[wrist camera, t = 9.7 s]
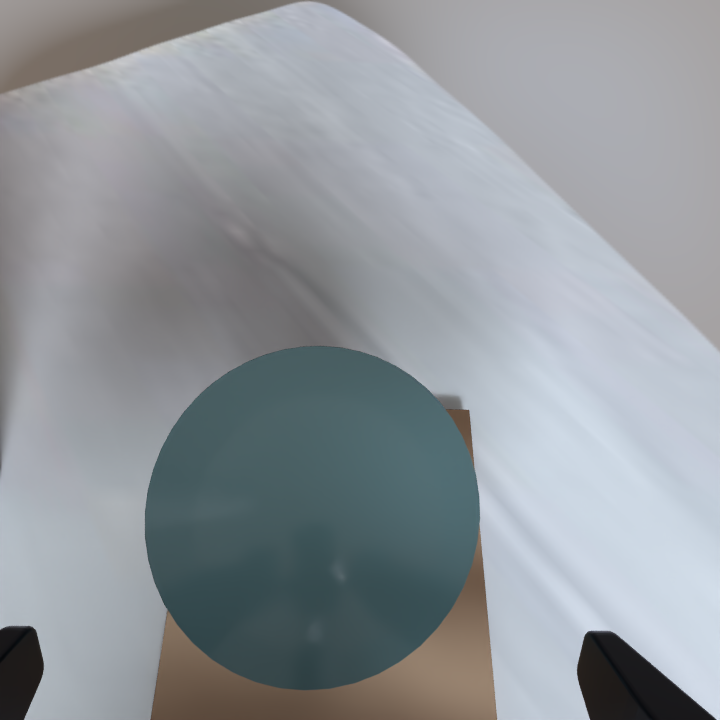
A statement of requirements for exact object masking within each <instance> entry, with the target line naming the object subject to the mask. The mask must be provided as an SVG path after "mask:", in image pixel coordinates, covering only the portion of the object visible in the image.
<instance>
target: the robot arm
mask: <svg viewBox="0 0 720 720" xmlns="http://www.w3.org/2000/svg"><path fill="white" fill-rule="evenodd" d="M43 669H44V662H43V657H42V653H41V649H40V645H39V641H38V636H37V632H36V630H35V629H34V628H33V627H31V626H8V627H5V628H3V629H1V630H0V720H24V718H25V716H26V713H27V711H28V709H29V707H30V704H31V702H32V700H33V697H34V695H35V693H36V690H37V688H38V686H39V683H40V681H41V678H42V675H43ZM577 675H578V681H579V685H580V688H581V691H582V695H583V698H584V701H585V705H586V708H587V711H588V714H589V718H590V720H716V719H715V718H714V717H713V716H712V715H711V714H709V713H708V712H707V711H706V710H705V709H704V708H702V707H701V706H700V705H699V704H698V703H696V702H695V701H694V700H693V699H692V698H691V697H689V696H688V695H687V694H686V693H685V692H684V691H682V690H681V689H680V688H679V687H678V686H677V685H675V684H674V683H673V682H672V681H671V680H669V679H668V678H667V677H666V676H665V675H664V674H662V673H661V672H660V671H659V670H658V669H657V668H655V667H654V666H653V665H652V664H651V663H650V662H648V661H647V660H646V659H645V658H644V657H642V656H641V655H640V654H639V653H638V652H637V651H635V650H634V649H633V648H632V647H631V646H630V645H628V644H627V643H626V642H625V641H624V640H623V639H621V638H620V637H619V636H618V635H616V634H615V633H613V632H611V631H588V632H587V633H586V634H585V637H584V640H583V645H582V649H581V653H580V657H579V662H578V666H577Z"/></svg>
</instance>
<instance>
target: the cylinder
mask: <svg viewBox="0 0 720 720" xmlns="http://www.w3.org/2000/svg"><path fill="white" fill-rule="evenodd" d="M479 522H480V507H479V492H478V485H477V479H476V474H475V470H474V467H473V463H472V459H471V456H470V453H469V451H468V449H467V446H466V444H465V441H464V439H463V437H462V435H461V433H460V431H459V430H458V428H457V426H456V424H455V423H454V421H453V419H452V418H451V416H450V415H449V414H448V412H447V411H446V410H445V408H444V407H443V406H442V404H441V403H440V402H439V401H438V400H437V399H436V398H435V397H434V396H433V394H432V393H431V392H430V391H429V390H428V389H427V388H426V387H424V386H423V385H422V384H421V383H419V382H418V381H417V380H416V379H415V378H413V377H412V376H411V375H409V374H408V373H406V372H404V371H403V370H401V369H400V368H398V367H396V366H395V365H393V364H390V363H388V362H386V361H384V360H382V359H380V358H378V357H375V356H372V355H369V354H366V353H363V352H360V351H355V350H350V349H345V348H339V347H327V346H310V347H298V348H291V349H285V350H281V351H277V352H273V353H270V354H266V355H263V356H261V357H258V358H256V359H253V360H251V361H248V362H246V363H244V364H242V365H241V366H239V367H237V368H235V369H233V370H231V371H230V372H228V373H227V374H225V375H224V376H222V377H221V378H220V379H218V380H217V381H215V382H214V383H213V384H211V385H210V386H209V387H208V388H207V389H206V390H205V391H203V392H202V393H201V394H200V395H199V396H198V397H197V398H196V399H195V400H194V401H193V402H192V404H191V405H190V406H189V407H188V408H187V409H186V410H185V411H184V413H183V414H182V415H181V417H180V418H179V420H178V421H177V423H176V424H175V425H174V427H173V428H172V430H171V432H170V433H169V435H168V437H167V439H166V441H165V443H164V445H163V447H162V448H161V451H160V453H159V456H158V459H157V461H156V464H155V466H154V469H153V472H152V476H151V480H150V484H149V488H148V493H147V501H146V509H145V540H146V547H147V554H148V560H149V564H150V568H151V571H152V575H153V578H154V582H155V584H156V587H157V589H158V591H159V593H160V596H161V598H162V600H163V602H164V605H165V606H166V608H167V609H168V611H169V613H170V614H171V616H172V617H173V619H174V621H175V622H176V624H177V625H178V626H179V628H180V629H181V630H182V631H183V632H184V633H185V635H186V636H187V637H188V638H189V639H190V640H191V642H192V643H193V644H194V645H195V646H197V647H198V648H199V649H200V650H201V651H202V652H204V653H205V654H206V655H207V656H208V657H209V658H211V659H212V660H213V661H215V662H217V663H218V664H220V665H221V666H223V667H225V668H226V669H228V670H229V671H231V672H233V673H235V674H237V675H240V676H242V677H245V678H247V679H249V680H252V681H254V682H257V683H261V684H265V685H269V686H273V687H277V688H283V689H294V690H319V689H331V688H336V687H340V686H345V685H349V684H354V683H357V682H359V681H362V680H364V679H367V678H370V677H372V676H375V675H377V674H379V673H381V672H383V671H385V670H386V669H388V668H390V667H392V666H393V665H395V664H397V663H399V662H400V661H402V660H403V659H404V658H406V657H407V656H408V655H409V654H411V653H412V652H413V651H415V650H416V649H417V648H418V647H420V646H421V645H422V644H423V643H424V642H425V641H426V640H427V639H428V638H429V637H430V636H431V634H432V633H433V632H434V631H435V630H436V629H437V628H438V627H439V626H440V624H441V623H442V621H443V620H444V619H445V617H446V616H447V615H448V613H449V612H450V610H451V609H452V608H453V606H454V604H455V602H456V600H457V598H458V596H459V595H460V593H461V591H462V589H463V587H464V585H465V582H466V579H467V577H468V574H469V571H470V569H471V566H472V563H473V559H474V554H475V550H476V546H477V541H478V532H479Z"/></svg>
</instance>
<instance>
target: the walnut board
mask: <svg viewBox="0 0 720 720" xmlns="http://www.w3.org/2000/svg"><path fill="white" fill-rule="evenodd" d="M445 410H446V411H447V412H448V414H449V415H450V416H451V418H452V419H453V421H454V423H455V424H456V426H457V428H458V430H459V431H460V433H461V435H462V437H463V439H464V441H465V444H466V446H467V449H468V451H469V453H470V456H471V459H472V463H473V467H474V458H473V447H472V436H471V425H470V414H469V410H451V409H445ZM474 470H475V469H474ZM151 720H497V714H496V702H495V691H494V680H493V669H492V658H491V647H490V636H489V625H488V614H487V603H486V591H485V580H484V569H483V558H482V547H481V536H480V525H479V532H478V541H477V546H476V550H475V554H474V559H473V563H472V566H471V569H470V571H469V574H468V577H467V579H466V582H465V585H464V587H463V589H462V591H461V593H460V595H459V596H458V598H457V600H456V602H455V604H454V606H453V608H452V609H451V610H450V612H449V613H448V615H447V616H446V617H445V619H444V620H443V621H442V623H441V624H440V626H439V627H438V628H437V629H436V630H435V631H434V632H433V633H432V634H431V636H430V637H429V638H428V639H427V640H426V641H425V642H424V643H423V644H422V645H421V646H420V647H418V648H417V649H416V650H415V651H413V652H412V653H411V654H409V655H408V656H407V657H406V658H404V659H403V660H402V661H400V662H399V663H397V664H395V665H393V666H392V667H390V668H388V669H386V670H385V671H383V672H381V673H379V674H377V675H375V676H372V677H370V678H367V679H364V680H362V681H359V682H357V683H354V684H349V685H345V686H340V687H336V688H331V689H319V690H294V689H283V688H277V687H273V686H269V685H265V684H261V683H257V682H254V681H252V680H249V679H247V678H245V677H242V676H240V675H237V674H235V673H233V672H231V671H229V670H228V669H226V668H225V667H223V666H221V665H220V664H218V663H217V662H215V661H213V660H212V659H211V658H209V657H208V656H207V655H206V654H205V653H204V652H202V651H201V650H200V649H199V648H198V647H197V646H195V645H194V644H193V643H192V642H191V640H190V639H189V638H188V637H187V636H186V635H185V633H184V632H183V631H182V630H181V629H180V628H179V626H178V625H177V624H176V622H175V621H174V619H173V617H172V616H171V614H170V613H169V611H168V612H167V618H166V624H165V631H164V637H163V644H162V650H161V656H160V663H159V669H158V676H157V682H156V688H155V695H154V701H153V708H152V714H151Z"/></svg>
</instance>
